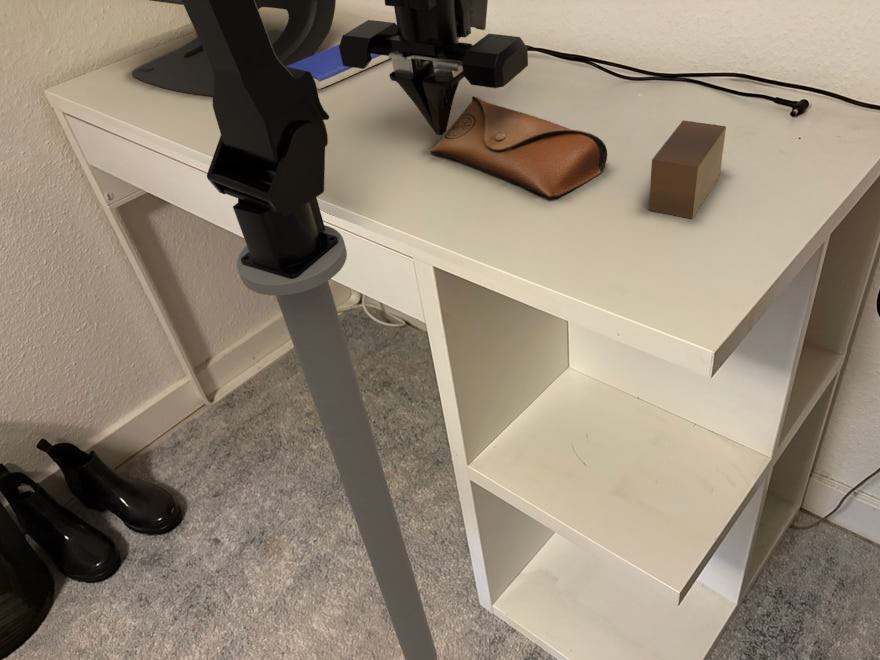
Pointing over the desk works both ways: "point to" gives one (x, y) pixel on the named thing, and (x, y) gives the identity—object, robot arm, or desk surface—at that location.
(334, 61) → the hard drive
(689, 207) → the walnut block
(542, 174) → the sunglasses case
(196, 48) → the laptop stand
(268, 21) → the desk surface
